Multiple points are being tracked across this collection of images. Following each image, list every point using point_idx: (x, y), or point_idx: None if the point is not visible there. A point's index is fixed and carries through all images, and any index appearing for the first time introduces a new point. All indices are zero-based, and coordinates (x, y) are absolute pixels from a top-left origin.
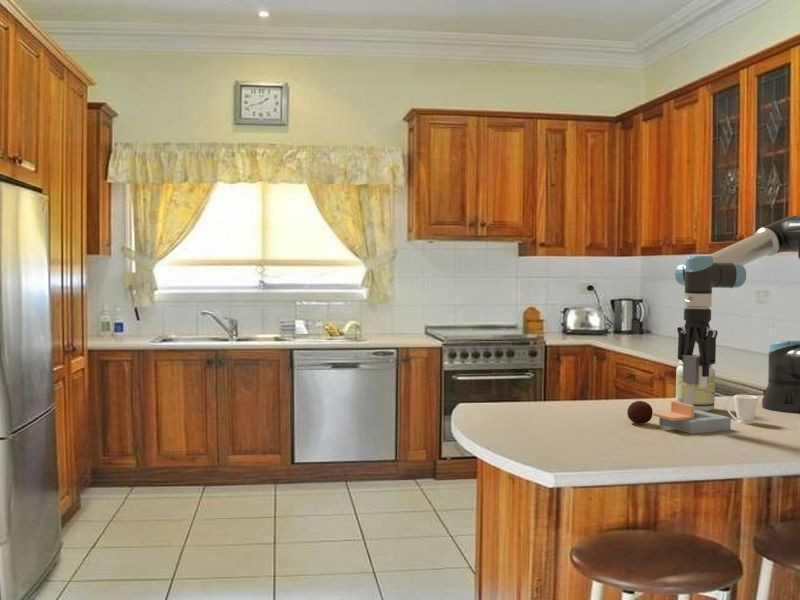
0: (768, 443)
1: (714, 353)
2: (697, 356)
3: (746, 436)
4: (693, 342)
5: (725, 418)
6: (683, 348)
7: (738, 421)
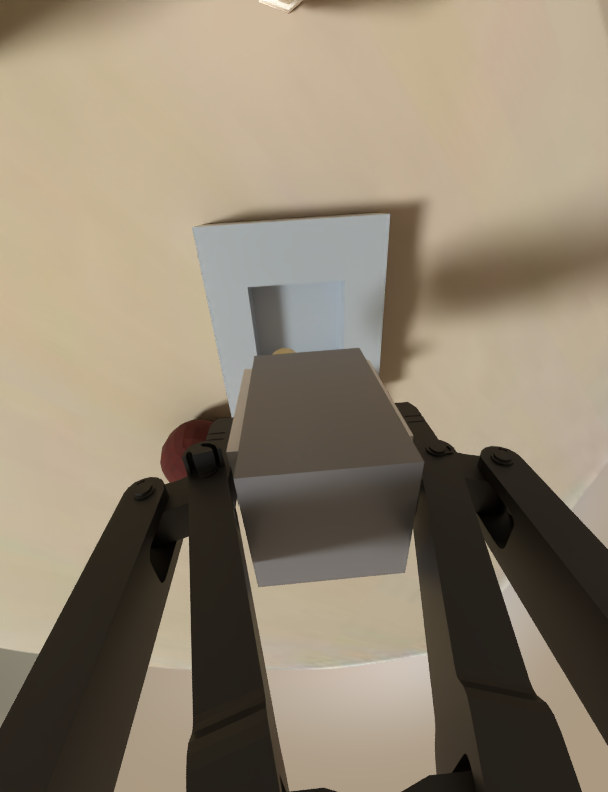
0: (572, 256)
1: (578, 536)
2: (361, 537)
3: (476, 246)
4: (268, 701)
5: (387, 248)
6: (145, 614)
7: (268, 3)
